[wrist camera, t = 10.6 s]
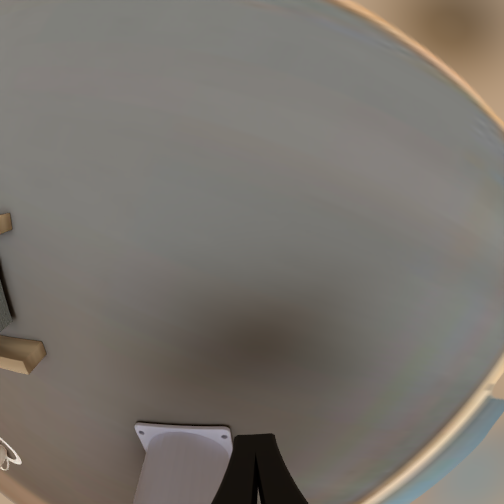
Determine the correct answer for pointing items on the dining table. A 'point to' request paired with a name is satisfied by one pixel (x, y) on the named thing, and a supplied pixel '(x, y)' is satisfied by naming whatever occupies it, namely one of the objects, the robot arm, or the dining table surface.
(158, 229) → the dining table surface
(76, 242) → the dining table surface
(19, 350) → the dock bay
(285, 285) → the dining table surface
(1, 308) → the grey stepped block
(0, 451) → the teacup and saucer
